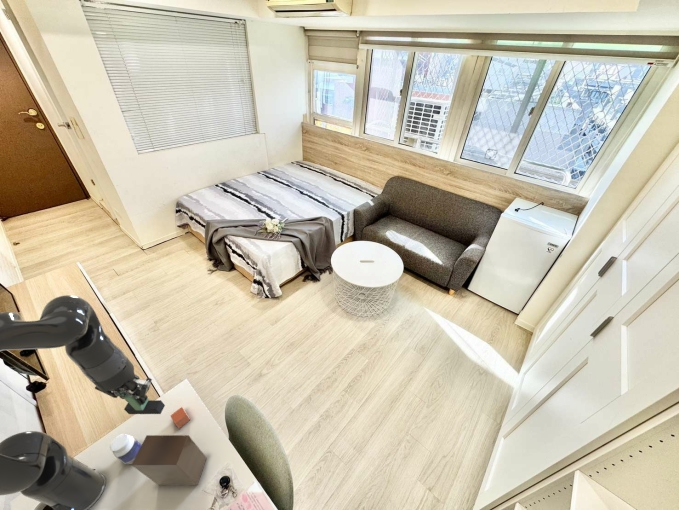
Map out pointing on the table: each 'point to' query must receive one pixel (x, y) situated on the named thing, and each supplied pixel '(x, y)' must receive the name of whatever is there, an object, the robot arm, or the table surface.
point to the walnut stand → (170, 460)
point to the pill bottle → (125, 448)
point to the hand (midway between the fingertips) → (139, 401)
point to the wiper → (143, 406)
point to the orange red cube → (180, 417)
